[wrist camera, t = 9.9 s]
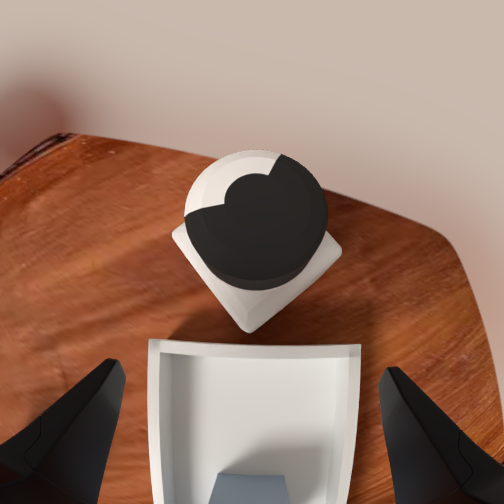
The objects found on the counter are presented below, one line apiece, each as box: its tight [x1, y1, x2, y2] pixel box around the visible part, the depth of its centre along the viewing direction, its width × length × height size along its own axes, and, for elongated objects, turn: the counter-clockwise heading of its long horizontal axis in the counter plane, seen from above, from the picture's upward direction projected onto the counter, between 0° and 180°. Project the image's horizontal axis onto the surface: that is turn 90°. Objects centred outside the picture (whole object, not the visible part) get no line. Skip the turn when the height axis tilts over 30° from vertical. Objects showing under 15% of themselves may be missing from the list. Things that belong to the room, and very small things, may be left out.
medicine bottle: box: [172, 150, 342, 333], centre depth 17 cm, size 7×7×12 cm
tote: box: [148, 339, 361, 504], centre depth 17 cm, size 18×14×4 cm
